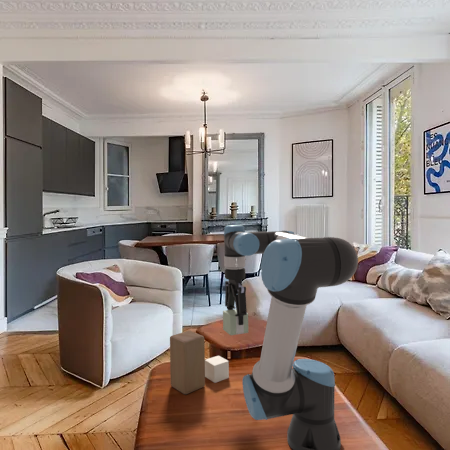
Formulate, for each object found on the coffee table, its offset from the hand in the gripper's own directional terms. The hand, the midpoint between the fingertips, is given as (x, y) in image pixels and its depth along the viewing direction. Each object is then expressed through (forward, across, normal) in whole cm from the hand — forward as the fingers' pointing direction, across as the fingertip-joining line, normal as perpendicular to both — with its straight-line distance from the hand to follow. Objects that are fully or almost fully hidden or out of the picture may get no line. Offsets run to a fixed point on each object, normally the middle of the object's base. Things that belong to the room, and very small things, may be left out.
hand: (235, 330), depth 132 cm
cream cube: (+24, +16, +2) cm, 29 cm away
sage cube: (0, 0, 0) cm, 0 cm away
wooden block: (+24, +13, +15) cm, 31 cm away
